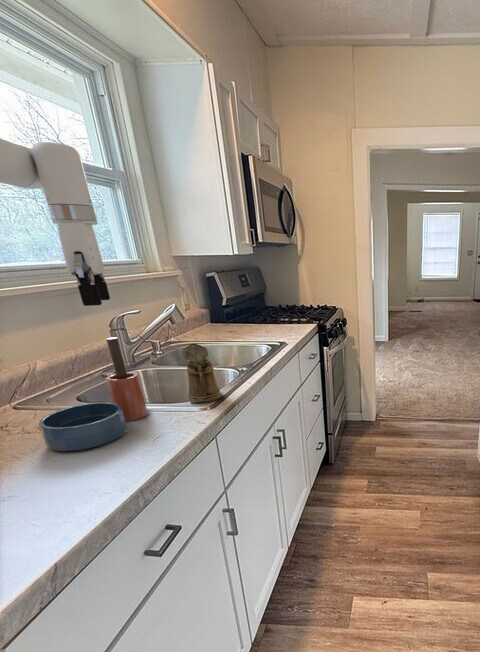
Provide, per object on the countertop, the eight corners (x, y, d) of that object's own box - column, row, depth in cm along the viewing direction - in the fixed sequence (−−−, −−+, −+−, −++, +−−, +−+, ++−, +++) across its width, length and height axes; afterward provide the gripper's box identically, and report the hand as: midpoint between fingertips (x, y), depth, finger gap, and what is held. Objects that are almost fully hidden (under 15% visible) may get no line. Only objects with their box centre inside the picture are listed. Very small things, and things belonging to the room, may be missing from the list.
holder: (114, 422, 102) (102, 381, 97) (122, 412, 108) (111, 373, 103) (143, 419, 103) (133, 378, 99) (150, 409, 109) (140, 371, 105)
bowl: (34, 458, 85) (24, 432, 82) (65, 428, 98) (57, 406, 96) (116, 448, 89) (109, 423, 86) (135, 421, 102) (129, 399, 100)
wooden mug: (187, 410, 109) (173, 345, 102) (189, 395, 120) (176, 335, 113) (222, 406, 112) (211, 342, 105) (220, 391, 123) (210, 332, 116)
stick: (125, 416, 104) (104, 339, 96) (128, 412, 106) (107, 337, 98) (136, 415, 105) (115, 339, 97) (138, 411, 107) (118, 337, 99)
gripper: (63, 218, 88) (86, 299, 94) (37, 212, 73) (66, 308, 80) (103, 219, 90) (123, 297, 97) (85, 213, 76) (110, 306, 82)
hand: (97, 302), depth 88 cm, fingers open, 9 cm apart
